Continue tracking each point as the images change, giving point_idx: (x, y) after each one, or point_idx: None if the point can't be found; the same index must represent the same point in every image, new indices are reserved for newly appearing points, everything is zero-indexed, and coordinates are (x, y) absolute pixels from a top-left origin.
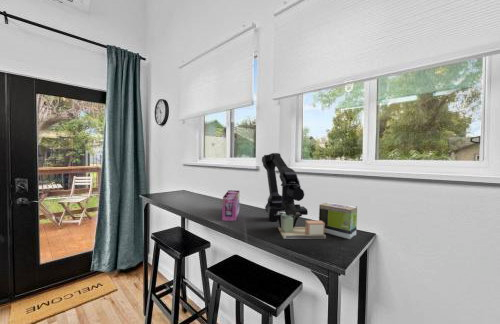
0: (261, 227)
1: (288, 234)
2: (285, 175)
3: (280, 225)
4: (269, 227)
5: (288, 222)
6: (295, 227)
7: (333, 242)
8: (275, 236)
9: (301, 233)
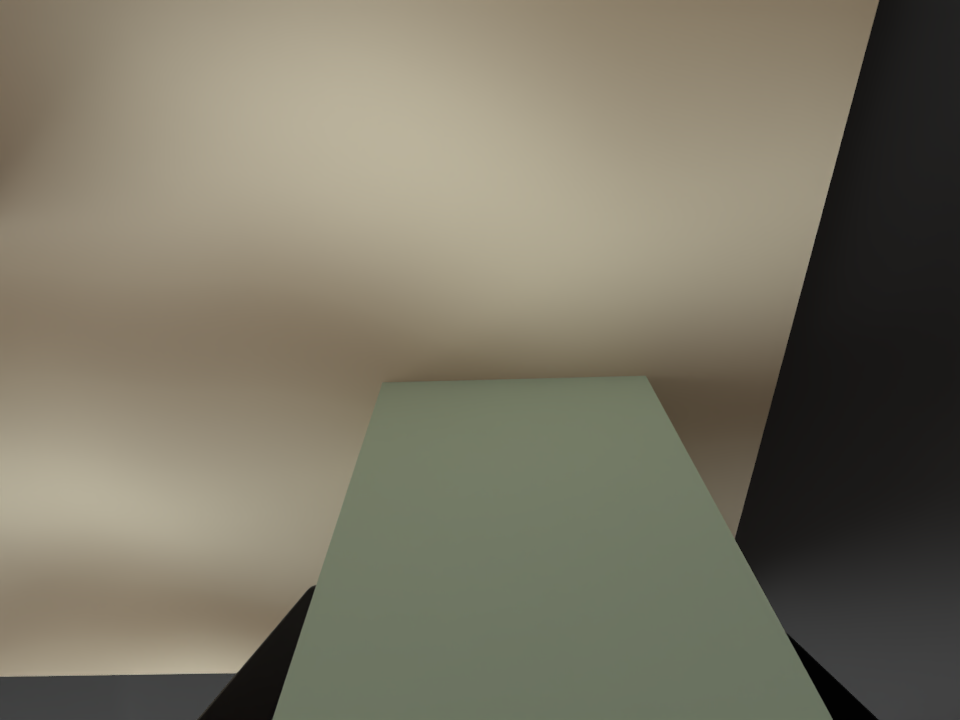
0: (948, 686)
1: (572, 181)
2: None
3: None
4: None
5: (577, 699)
6: None
7: None
8: (909, 251)
9: (99, 285)
